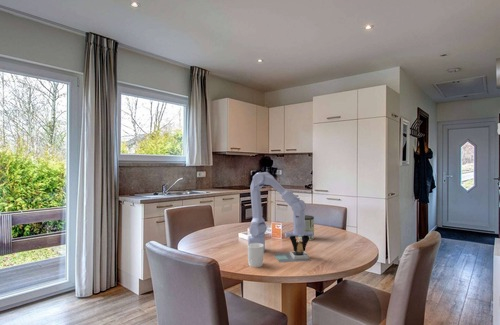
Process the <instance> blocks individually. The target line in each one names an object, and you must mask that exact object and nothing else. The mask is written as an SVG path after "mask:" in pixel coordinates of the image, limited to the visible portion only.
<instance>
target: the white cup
mask: <svg viewBox="0 0 500 325" xmlns="http://www.w3.org/2000/svg"><path fill="white" fill-rule="evenodd" d="M246 247H247V248H246V249H247V262H248V266H249V267H251V268H259V267H262V266H264V255H265V254H264V252H265V251H264V245H263V244H260V243H251V244H248V243H247V246H246Z"/></svg>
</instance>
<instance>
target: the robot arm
mask: <svg viewBox="0 0 500 325" xmlns="http://www.w3.org/2000/svg"><path fill="white" fill-rule="evenodd" d="M265 185H266V186H271V187H272V189H274V190H275V191H277V192H278V193H279V194H280V195H281V198H282V200H283V201H285V203H286V204H288V206H290V207H291V211H292V212H293V231H291V232H285V233H284V237H285V238H289V239H290V241H291V244H292V248H293V252H296V242H297V240H298V237H302V240H301V242H303V251H305V252H306V246H307V244H308V242H309V241H310V240H309V237H308V236H313V232H305V214H306V213H305V210H306V209H307V204H306V203H305V201H304V200H302V199H300V197H298V196H296V195H295V194H294V191H292V190H289V189H288V190H287V189H286V188H284V187H283V186H282V185H281V184H280V182H279V181H277V179H276V178H275V177H274V175H272V174H271V173H270V172H267V171H264V172H256V173H255V174H254V175H253V176H252V180H251V183H250V187H249V188H250V201H251V212H252V213H251V214H252V219H251V221H250V227H249V234H250V235H248V236H247V245H248V244H251V243H260V244H263V245H264V252H265V251H266V236H265V235H266V232H267V230H268V227H267V224H266V221H265V218H264V217H263V209H262V198H261V189H262V188H263V187H264V186H265Z"/></svg>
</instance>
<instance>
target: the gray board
mask: <svg viewBox="0 0 500 325" xmlns="http://www.w3.org/2000/svg"><path fill="white" fill-rule="evenodd" d="M273 255H274V257H275V259H276V260H278V263H293V262H308V261H309V262H310V261H312V260H311V258H310V255H309V254H308V253H307V252H306V250H305V251H303V255H296V254H295V251H289V252H281V253H280V252H278V253H277V252H276V253H273Z"/></svg>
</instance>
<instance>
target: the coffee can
mask: <svg viewBox="0 0 500 325" xmlns="http://www.w3.org/2000/svg"><path fill="white" fill-rule="evenodd" d="M314 220H315V216H313V215H309V214H308V215H305V232H313V236H308V237H309V240H308V241H313V240H314V239H315V222H314ZM297 240H299V241H302V237H297Z"/></svg>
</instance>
